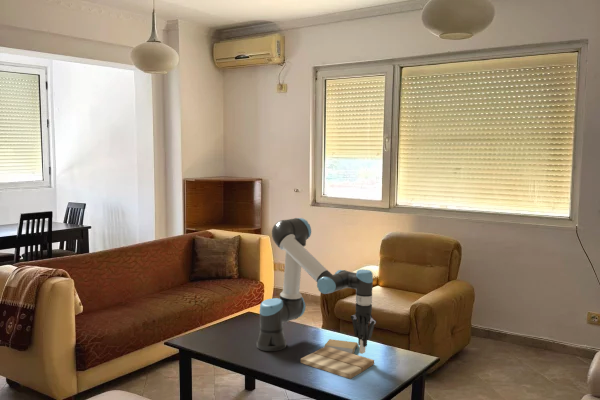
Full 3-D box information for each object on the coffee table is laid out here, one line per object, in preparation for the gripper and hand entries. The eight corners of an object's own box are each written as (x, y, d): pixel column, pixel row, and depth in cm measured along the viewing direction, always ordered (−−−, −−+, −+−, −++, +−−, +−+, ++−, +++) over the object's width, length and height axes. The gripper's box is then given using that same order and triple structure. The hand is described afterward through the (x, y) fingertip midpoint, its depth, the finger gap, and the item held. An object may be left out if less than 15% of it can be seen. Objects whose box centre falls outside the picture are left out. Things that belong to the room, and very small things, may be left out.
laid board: (300, 362, 246) (300, 358, 246) (312, 356, 254) (312, 352, 254) (350, 378, 229) (350, 374, 229) (362, 371, 236) (362, 367, 236)
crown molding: (351, 357, 255) (351, 350, 255) (323, 353, 260) (323, 346, 259) (358, 347, 268) (358, 340, 268) (330, 343, 273) (330, 337, 273)
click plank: (313, 356, 254) (313, 352, 254) (325, 349, 262) (325, 345, 261) (362, 371, 236) (362, 367, 236) (374, 364, 244) (374, 359, 244)
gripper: (347, 302, 245) (346, 351, 247) (371, 308, 237) (370, 358, 239) (356, 299, 250) (355, 346, 253) (380, 304, 242) (378, 353, 245)
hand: (362, 352), depth 246 cm, fingers closed
